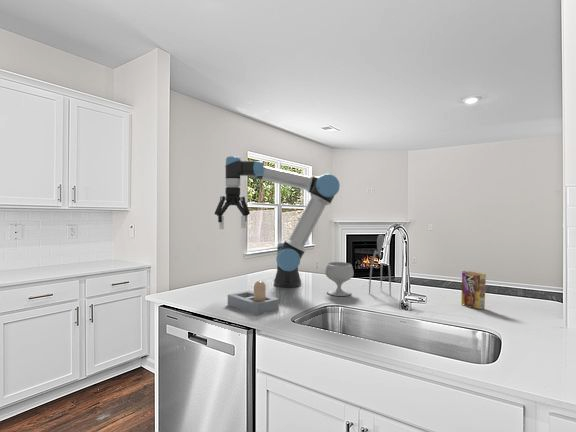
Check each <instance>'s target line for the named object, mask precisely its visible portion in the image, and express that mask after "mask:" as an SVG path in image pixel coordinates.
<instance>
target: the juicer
mask: <svg viewBox="0 0 576 432" xmlns="http://www.w3.org/2000/svg"><path fill="white" fill-rule="evenodd" d="M384 238H385V239H386V237H385V236H384V234H378V236H377V239H376V248H377V250H376V249H375V250H374V252H373V255H372V259H371V264H370V271H369V282H368V284H369V285H368V289H369V290H368V294H369V295H370V294H371V287H372V285H371V284H372V275H373V266H374V261H375V259H376V256H377V255H378V258H379V257H380V250H381V248H382V246H383V242H384ZM390 265H391V264H390V263H389V265H388V264H387V268H388V269H387V270H388V283H389V296H391V294H392V293H391V292H392V291H391V288H392V286H391V285H392V284H391V283H392V281H391V266H390ZM382 282H383V264H382V265H380V290H382V284H383V283H382Z"/></svg>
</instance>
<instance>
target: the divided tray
mask: <svg viewBox="0 0 576 432" xmlns="http://www.w3.org/2000/svg"><path fill="white" fill-rule="evenodd" d="M253 300H254V290H246V291H241V292H235V293H230V294H229V293H228V294H227V306H229V307H233V308H234V307H235V308H234V309H237V308H238V310H240V309H241V310H240V311H243V312H245V311H246V312H245V313H249V314H250V315H251V314H252V315H254V316H259V315H264V314H267V313H271V312H274V311H275V312H276V311H279V309H280V299H279V298H277V297H274V296H273V297H272V296H270V295H267V294H266V297H265V301H261V302H256V301H253Z"/></svg>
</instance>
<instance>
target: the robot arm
mask: <svg viewBox="0 0 576 432" xmlns="http://www.w3.org/2000/svg"><path fill="white" fill-rule="evenodd" d="M264 163H265V162H264V161H263V160H262V161H259V160H242V159H241V157H240V156H233V155H232V156H231V155H230V156H227V157H226V158H225V166H224V167H225V188H224V189H225V194H224V195H225V196H224V195H221V196H220V197H219V202H218V204H217V206H216V209H215V210H214V215H216V216H217V222H218V224H219V227H218V228H219V230H224V228H225V226H224V224H225V221H224V219H225V217H224V214H225V213H226V211H227V209H228V208H229V207H230V206H235V207H237V209H238V210H239V212H240V214H241V215H240V216H241V217H240V219H241V220H240V227H241V228H240V229H246V224H247V223H246V222H247V216H248V215H250V209H249V207H248V204H247V203H246V197H245V196H240V195H241V188H240V187H241V176H242V177H244V176H246V177H248V176H249V177H250V178H252V179H259V180H261V181H266V182H271V183H275V184H278V185H284V186H288V187H291V188H292V187H293V188H297V189H301V190H306V191H307V193H309V195H310V199H309V201H308V202H307V205H306V207H305V208H304V211H303V212H302V214H301V217H300V218H299V220H298V222H297V224H296V226H295V228H294V229H293V231H292V233H291V235H290V237H289V239H286V240H284V242H280V243H278V244H277V248H276V250H277V252H276V253H277V254H276V259H275V260H276V265H277V266H276V267H277V269H276V274H275V277H274V279H273V285H274V286H276V287H279V288H296V287H301V285H302V279H301V276H300V273H299V266H300V263H301V259H302V257H303V255H304V254H305V253H306V252H305V251H306V250H305V245H306V244H307V242H308V240H309V239H310V236H311V234H312V233H313V231H314V229H315V227H316V225H317V223H318V222H319V219H320V218H321V216H322V214H323V212H324V210H325V209H326V206H329V205H331V204H332V201H333V200H334V198H335V196H336V195H337V194H338V192H339V191H340V181H339V180H338V178H337V177H336V175H334V174H331V173H325V174H322V175H319V176H317V175H314V174H313V175H310V176H309V175H305V174H304V175H303V174H299V173H295V172H291V171H288V170H282V169H278V168H274V167H270V166H265V165H264ZM225 201H226V202H225Z"/></svg>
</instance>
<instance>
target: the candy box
mask: <svg viewBox="0 0 576 432" xmlns="http://www.w3.org/2000/svg"><path fill="white" fill-rule="evenodd" d="M486 275H487V274H486V273H482V272H476V271H471V270H464V271H462V272H461V303H460V304H464V305H468V306H471V307H470V308H472V307H475V308H485V307H486V305H485V304H486V302H485V301H486V282H487V281H486V280H487V278H486V277H487V276H486ZM464 305H463V306H464ZM468 306H467V307H468ZM475 308H474V309H475ZM485 309H486V308H485Z"/></svg>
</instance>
